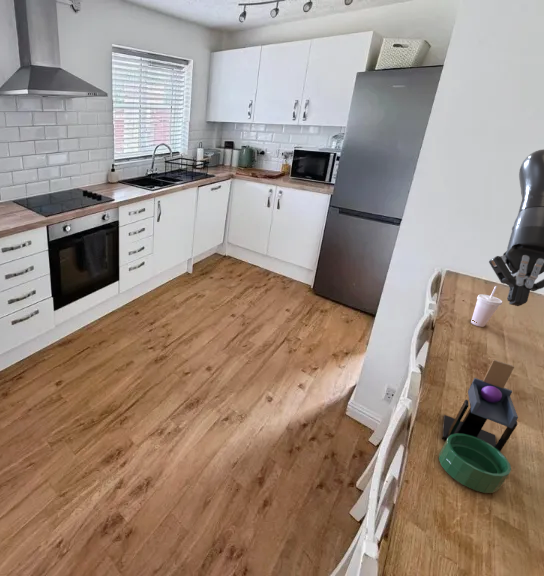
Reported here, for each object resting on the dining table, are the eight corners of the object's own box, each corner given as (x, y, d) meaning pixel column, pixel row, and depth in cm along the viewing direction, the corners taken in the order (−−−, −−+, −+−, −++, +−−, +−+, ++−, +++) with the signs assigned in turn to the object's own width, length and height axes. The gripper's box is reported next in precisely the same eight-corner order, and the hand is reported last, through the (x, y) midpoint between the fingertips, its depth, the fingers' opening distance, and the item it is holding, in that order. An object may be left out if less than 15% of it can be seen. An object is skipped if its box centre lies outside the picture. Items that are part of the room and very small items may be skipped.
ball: (484, 395, 76) (490, 382, 75) (501, 405, 73) (508, 391, 72) (474, 396, 75) (480, 383, 74) (491, 406, 72) (498, 393, 71)
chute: (467, 391, 78) (484, 356, 75) (504, 404, 75) (523, 368, 72) (471, 413, 70) (490, 374, 67) (512, 428, 67) (533, 389, 64)
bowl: (459, 446, 76) (469, 429, 74) (510, 487, 68) (523, 468, 66) (426, 457, 73) (435, 439, 71) (475, 500, 65) (487, 481, 63)
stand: (443, 417, 83) (461, 380, 79) (493, 437, 78) (516, 399, 74) (441, 441, 77) (461, 403, 72) (496, 465, 72) (521, 426, 67)
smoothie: (490, 324, 124) (510, 287, 118) (488, 331, 120) (508, 292, 114) (467, 317, 128) (485, 280, 122) (464, 323, 124) (482, 285, 118)
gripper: (509, 218, 80) (489, 290, 78) (586, 234, 76) (568, 311, 73) (489, 231, 87) (470, 298, 85) (559, 247, 83) (542, 318, 80)
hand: (516, 304), depth 79 cm, fingers closed
